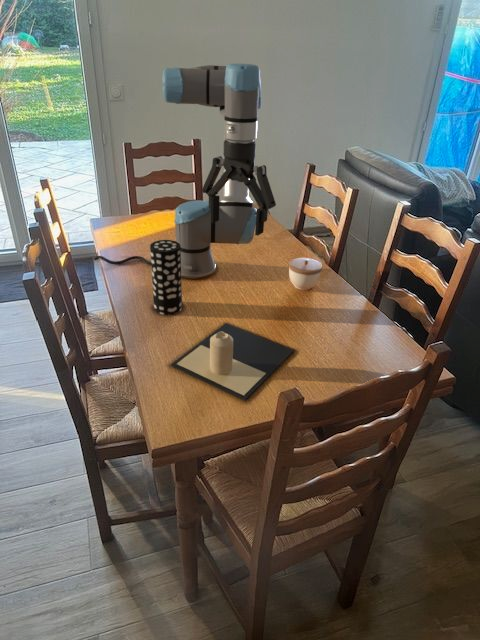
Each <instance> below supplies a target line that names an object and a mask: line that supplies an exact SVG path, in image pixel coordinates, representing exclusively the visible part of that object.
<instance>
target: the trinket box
mask: <svg viewBox="0 0 480 640" xmlns="http://www.w3.org/2000/svg"><path fill="white" fill-rule="evenodd" d="M322 270H323V265H322V263H321V262H320V261H318V260H316V259H313V258H309V257H297V258H293V259H291V260H290V261H289V263H288V277H289V281H290V282H291V284H292V285H293V286H294V288H296V289H297V290H301V291H308V290H311V289H312V288H313V287H314V286H316V285H317V284H318V282H319V281H320V278H321V275H322Z"/></svg>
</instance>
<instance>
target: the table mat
mask: <svg viewBox="0 0 480 640" xmlns="http://www.w3.org/2000/svg"><path fill="white" fill-rule="evenodd" d="M220 331H223V332H224V333H226V334H228V335H230V336H231V337H232V338H233V360H232V370H231V372H230V373H228V374H225V375H217V374H214V373H213V372H212V371H211V370H210V338H211V337H212V336H213V335H215V334H217V333H218V332H220ZM294 352H295V349H293V348H290V347H288V346H285V345H282V344H280V343H277V342H276V341H273V340H270V339H269V338H268V339H267V338H265V337H262V336H260V335H257V334H255V333H253V332H250V331H247V330H245V329H242V328H240V327H237V326H234V325H232V324H230V323H228V322H225V323H224V324H222V325H221V326H220V327H219V328H217V329H216V330H214V331H213V332H212V333H211V334H209V335H208V336H206V337H205V338H204V339H203V340H201V341H199V343H198V344H196V345H195V346H194V347H192V348H191V349H190V350H188V351H187V352H186V353H184V354H183V355H182V356H180V357H178V359H176V360H175V361H173V362H172V363H171V364H170V366H171V367H173V368H175V369H177V370H179V371H181V372H184V374H185V373H186V374H188V375H190V376H192V377H193V378H196V379H198V380H200V381H203V382H204V383H207V384H209V385H211V386H213V387H215V388H218V389H219V390H221V391H223V392H225V393H228V394H230V395H232V396H234V397H236V398H238V399H240V400H243V401H244V402H246V401H247V400H248V399H249V398H250V397H251V396H252V394H253V393H255V392H256V390H258V389H259V388H260V386H261V385H263V383H264V382H265V381H266V380H268V378H270V376H271V375H272V374H273V373H274V372H275V371H276V370H278V368H280V366H281V365H282V364H283V363H284V362H285V361H286V360H287V359H288V358H289V357H290V356H291V355H292V354H293V353H294Z"/></svg>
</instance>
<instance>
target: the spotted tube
mask: <svg viewBox="0 0 480 640" xmlns="http://www.w3.org/2000/svg"><path fill="white" fill-rule="evenodd" d="M149 251H150V262H151V265H150V266H151V267H150V268H151V283H152V298H153V310H154V312H156V313H157V314H159V315H163V316H171V315H175V314H178V313H181V311H182V309H183V294H182V293H183V291H182V290H183V287H182V278H181V248H180V244H179V243H178V242H176V240H172V239H159V240H156V241H153V242H152V243H150V244H149Z"/></svg>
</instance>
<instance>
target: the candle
mask: <svg viewBox="0 0 480 640" xmlns="http://www.w3.org/2000/svg"><path fill="white" fill-rule="evenodd" d="M232 360H233V338H232V337H231V336H230V335H228V334H226V333H224V332H223V331H220V332H218V333H217V334H215V335H213V336H212V337H211V338H210V370H211V371H212V372H213V373H214V374H217V375H225V374H228V373H230V372H231V370H232Z"/></svg>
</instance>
